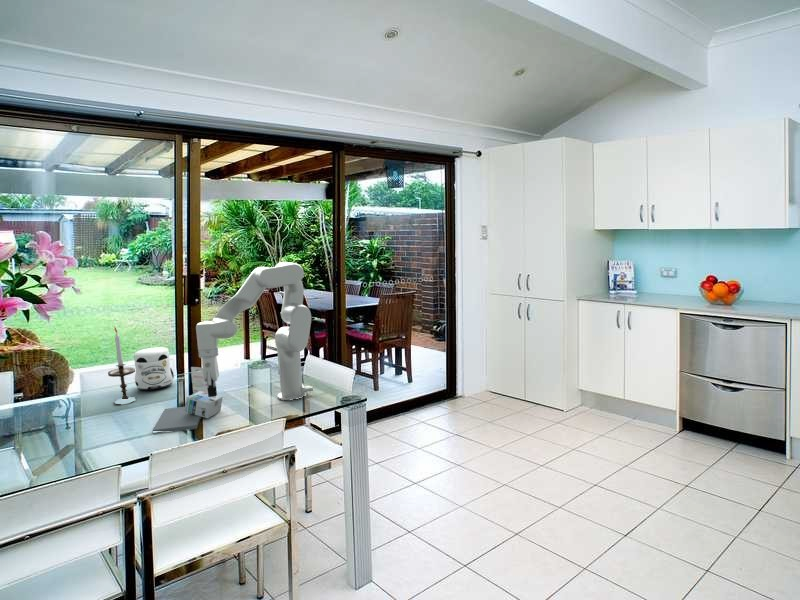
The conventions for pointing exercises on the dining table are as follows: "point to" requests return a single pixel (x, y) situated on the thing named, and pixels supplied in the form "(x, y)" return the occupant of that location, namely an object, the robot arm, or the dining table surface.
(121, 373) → the candlestick
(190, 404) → the light bulb box
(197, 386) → the ink cartridge box
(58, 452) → the dining table surface
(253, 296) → the robot arm
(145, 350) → the milk container
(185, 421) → the mat
